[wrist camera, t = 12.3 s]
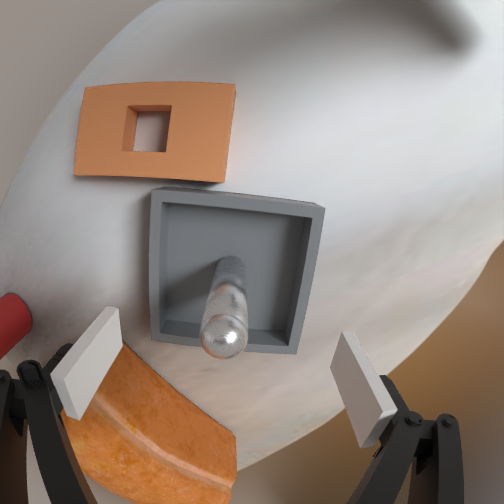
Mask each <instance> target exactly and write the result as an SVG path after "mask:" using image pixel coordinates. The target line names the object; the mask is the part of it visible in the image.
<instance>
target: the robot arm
mask: <svg viewBox="0 0 504 504" xmlns="http://www.w3.org/2000/svg"><path fill="white" fill-rule="evenodd" d="M122 346H123V344H122V336H121V328H120V319H119V309H118V308H115V307H110V306H107V307H106V308H105V309H104V310H103V311H102V312H101V313H100V315H99V316H98V317H97V318H96V319H95V320H94V322H93V323H92V324H91V325H90V326H89V327H88V328H87V330H86V331H85V332H84V333H83V334H82V336H81V337H80V338H79V339H78V340H77V342H76V343H75V344H74V345H73V344H70V343H68V344H66V345H64V346H62V347H61V348H60V349H59V350H58V351H57V352H56V354H55V355H54V356H53V357H52V359H50V361H49V362H48V363H47V364H46V365H45V367H44V368H43V369H42V367H41V365H40V363H38V362H37V361H35V360H26V361H23V362H22V363H20V364H19V365H18V367H17V373H18V376H19V378H20V380H17V379H12V378H11V376H10V374H9V372H7V371H6V370H0V504H28V493H27V473H26V450H27V428H28V425H29V430H30V435H31V439H32V444H33V448H34V452H35V455H36V459H37V462H38V466H39V469H40V473H41V476H42V479H43V482H44V485H45V487H46V491H47V493H48V496H49V498H50V501H51V504H97V501H96V499H95V498H94V496H93V494H92V492H91V490H90V488H89V485H88V483H87V481H86V479H85V477H84V475H83V472H82V470H81V468H80V465H79V463H78V461H77V458H76V456H75V453H74V451H73V448H72V445H71V443H70V440H69V437H68V434H67V431H66V428H65V425H64V422H63V419H62V416H61V414H60V413H61V411H62V410H63V408H64V410H65V413H66V415H67V416H69V417H72V418H74V419H77V420H80V419H81V418H82V416H83V414H84V412H85V410H86V408H87V407H88V405H89V403H90V401H91V399H92V398H93V396H94V394H95V392H96V390H97V389H98V387H99V385H100V383H101V382H102V380H103V378H104V377H105V375H106V373H107V371H108V370H109V368H110V366H111V365H112V363H113V361H114V360H115V358H116V356H117V355H118V353H119V351H120V350H121V348H122ZM330 368H331V371H332V373H333V376H334V379H335V381H336V384H337V387H338V389H339V392H340V394H341V397H342V400H343V402H344V405H345V408H346V410H347V413H348V416H349V419H350V421H351V424H352V427H353V430H354V432H355V435H356V438H357V440H358V443H359V446H360V448H365V447H371V446H374V445H375V444H376V442H377V441H378V439H379V440H380V442H381V446H380V447H379V448H378V450H377V451H376V453H375V454H374V455H373V457H374V458H373V460H372V462H371V464H370V466H369V467H368V469H367V471H366V473H365V474H364V476H363V478H362V480H361V481H360V483H359V485H358V486H357V488H356V489H355V491H354V493H353V494H352V496H351V497H350V499H349V500H348V502H347V503H346V504H394V502H395V500H396V497H397V495H398V493H399V491H400V489H401V486H402V484H403V482H404V479H405V477H406V474H407V472H408V470H409V467H410V464H411V462H412V472H411V481H410V490H409V497H408V504H464V479H463V461H462V449H461V440H460V433H459V425H458V422H457V420H456V418H455V417H453V416H452V415H450V414H441V415H439V417H438V418H437V419H436V421H433V420H423V418H422V417H421V415H420V414H418V413H416V412H413V411H409V409H408V407H407V406H406V404H405V402H404V400H403V399H402V397H401V395H400V394H399V392H398V390H397V389H396V387H395V385H394V384H393V382H392V380H390V379H389V378H388V377H387V376H386V375H378V373H377V372H376V370H375V368H374V366H373V365H372V363H371V361H370V359H369V358H368V356H367V354H366V353H365V351H364V349H363V347H362V346H361V344H360V342H359V341H358V339H357V337H356V336H355V334H354V332H341V335H340V339H339V342H338V345H337V348H336V351H335V354H334V357H333V360H332V363H331V366H330Z"/></svg>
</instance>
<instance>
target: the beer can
mask: <svg viewBox="0 0 504 504" xmlns="http://www.w3.org/2000/svg"><path fill="white" fill-rule="evenodd" d="M31 327H32V318H31V314H30V311H29V309H28V307H27V305H26V304H25V303H24V301H23V300H22V299H21V298H20V297H19V296H17V295H15V294H13V293H7V294H6V295H4V296H3V297H1V298H0V359H2V358H3V357H4V356H5V355H6V354H7V353H8V352H9V351H10V350H11V349H12V348H13V347H14V346H15V345H16V344H17V343H18V342H19V341H20V340H21V339H22V338H23V337H24V336H25V335H26V334H28V333H29V331H30V330H31Z"/></svg>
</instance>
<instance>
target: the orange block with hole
mask: <svg viewBox="0 0 504 504" xmlns="http://www.w3.org/2000/svg"><path fill="white" fill-rule="evenodd" d="M235 95H236V90H235V84H223V83H207V82H140V83H124V84H112V85H103V86H94V87H86V88H85V91H84V96H83V102H82V107H81V114H80V120H79V127H78V135H77V144H76V153H75V166H74V175H103V176H134V177H154V178H171V179H185V180H197V181H209V182H220V183H223V182H225V174H226V165H227V157H228V149H229V141H230V133H231V125H232V117H233V110H234V102H235ZM138 111H171V117H170V124H169V131H168V139H167V148H166V152H137V151H133V147H134V139H135V131H136V123H137V116H138Z"/></svg>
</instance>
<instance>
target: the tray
mask: <svg viewBox="0 0 504 504" xmlns="http://www.w3.org/2000/svg"><path fill="white" fill-rule="evenodd" d="M324 213H325V208H324V207H322V206H320V205H317V204H315V203H311V202H304V201H297V200H289V199H282V198H274V197H266V196H258V195H249V194H240V193H230V192H221V191H210V190H199V189H187V188H174V187H161V188H156V189H152V193H151V209H150V230H149V309H150V331H151V340H155V341H161V342H167V343H174V344H181V345H189V346H197V347H202V345H201V343H200V339H199V332H200V327H201V323H202V319H203V315H204V311H205V307H206V303H207V299H208V295H209V291H210V287H211V283H212V279H213V275H214V271H215V268H216V264H217V262H218V261H219V260H220V259H221V258H223V257H225V256H236V257H238V258H240V259H241V260H242V261H243V263H244V265H245V268H246V291H247V314H248V342H247V345H246V347H245V349H244V350H243V351H246V352H259V353H276V354H296V353H297V349H298V345H299V341H300V336H301V332H302V328H303V323H304V319H305V314H306V310H307V305H308V300H309V295H310V291H311V286H312V281H313V276H314V271H315V265H316V260H317V255H318V249H319V243H320V238H321V232H322V226H323V220H324Z"/></svg>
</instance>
